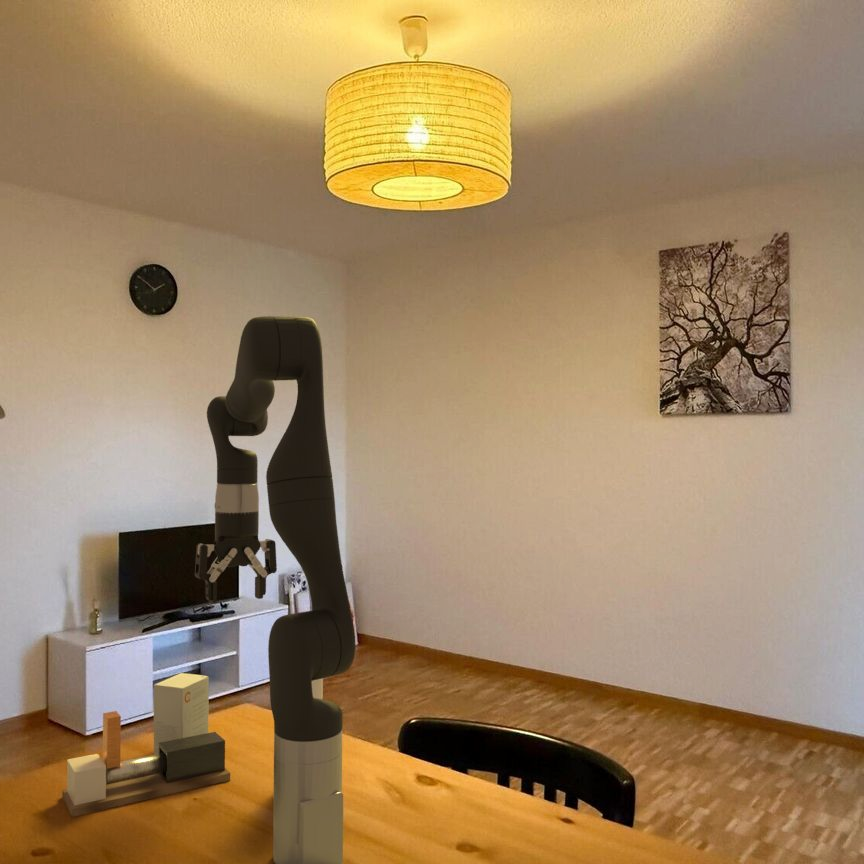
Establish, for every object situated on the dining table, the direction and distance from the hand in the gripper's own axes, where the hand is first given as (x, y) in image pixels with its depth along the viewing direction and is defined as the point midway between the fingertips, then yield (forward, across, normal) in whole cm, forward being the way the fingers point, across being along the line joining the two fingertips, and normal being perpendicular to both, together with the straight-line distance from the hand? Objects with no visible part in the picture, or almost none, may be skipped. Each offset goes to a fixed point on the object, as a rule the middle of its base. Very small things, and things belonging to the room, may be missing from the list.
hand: (236, 600), depth 146 cm
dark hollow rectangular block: (+27, -9, -4) cm, 29 cm away
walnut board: (+28, -16, -4) cm, 32 cm away
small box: (+28, -7, +9) cm, 31 cm away
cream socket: (+27, -26, -4) cm, 37 cm away
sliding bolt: (+26, -19, -4) cm, 32 cm away
